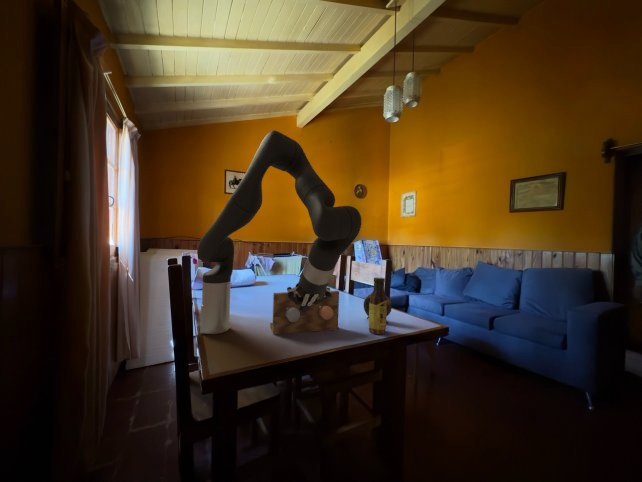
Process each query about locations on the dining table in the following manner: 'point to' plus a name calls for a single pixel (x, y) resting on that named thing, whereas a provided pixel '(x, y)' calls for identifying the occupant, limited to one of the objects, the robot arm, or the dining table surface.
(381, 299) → the sauce bottle
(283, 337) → the dining table surface
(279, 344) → the dining table surface
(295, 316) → the slate button
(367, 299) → the alarm clock
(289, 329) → the walnut panel
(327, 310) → the terracotta button
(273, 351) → the dining table surface
